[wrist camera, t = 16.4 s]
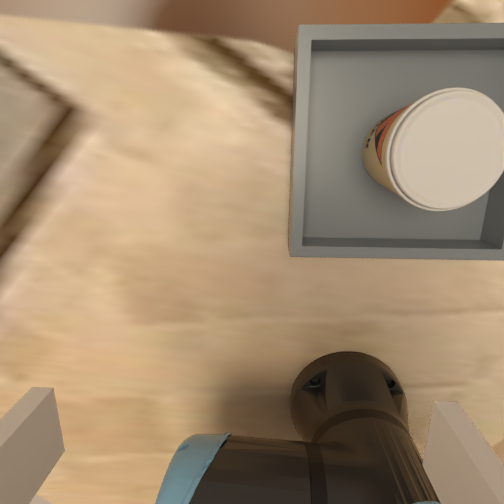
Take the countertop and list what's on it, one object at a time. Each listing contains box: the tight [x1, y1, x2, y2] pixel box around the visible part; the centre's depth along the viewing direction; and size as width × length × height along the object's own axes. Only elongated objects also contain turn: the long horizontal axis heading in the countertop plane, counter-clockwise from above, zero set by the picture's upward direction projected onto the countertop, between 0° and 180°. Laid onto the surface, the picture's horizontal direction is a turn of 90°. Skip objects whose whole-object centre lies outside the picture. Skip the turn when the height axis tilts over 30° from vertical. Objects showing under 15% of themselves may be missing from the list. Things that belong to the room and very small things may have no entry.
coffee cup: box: [362, 88, 504, 211], centre depth 33 cm, size 9×9×12 cm
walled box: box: [288, 23, 504, 260], centre depth 37 cm, size 22×23×5 cm
